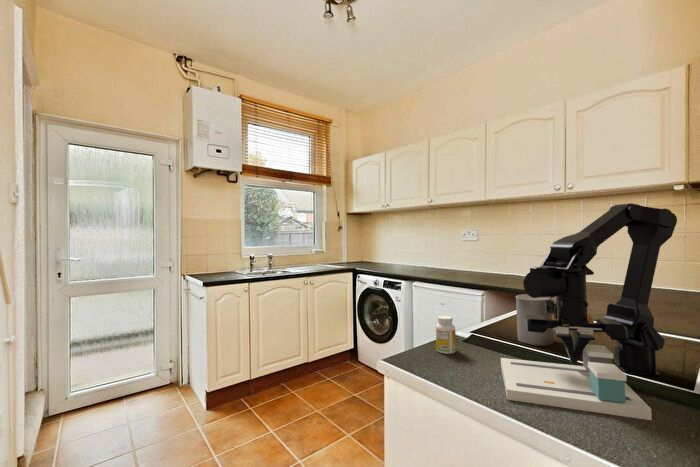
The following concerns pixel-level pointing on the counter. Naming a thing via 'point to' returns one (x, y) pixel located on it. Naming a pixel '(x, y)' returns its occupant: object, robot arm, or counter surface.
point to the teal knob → (607, 381)
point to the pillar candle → (532, 307)
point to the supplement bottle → (445, 335)
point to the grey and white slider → (596, 355)
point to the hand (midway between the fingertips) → (573, 363)
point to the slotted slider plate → (564, 389)
